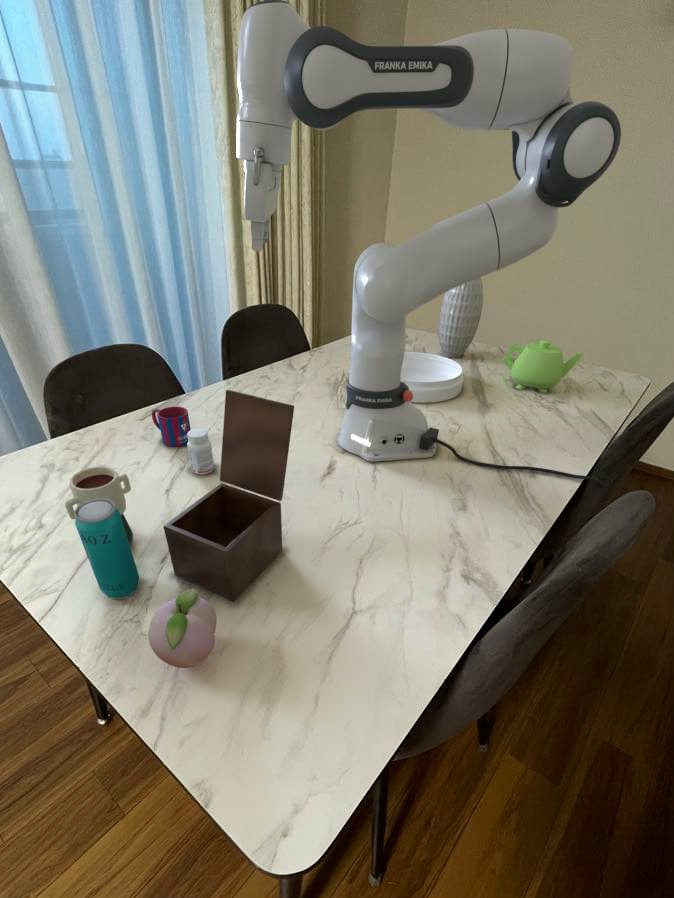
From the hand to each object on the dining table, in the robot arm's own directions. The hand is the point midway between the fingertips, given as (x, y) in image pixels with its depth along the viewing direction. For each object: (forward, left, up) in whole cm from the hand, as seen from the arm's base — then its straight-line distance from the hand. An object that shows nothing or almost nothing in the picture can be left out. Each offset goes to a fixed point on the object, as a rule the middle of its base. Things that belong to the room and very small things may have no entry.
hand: (259, 246), depth 86 cm
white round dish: (-39, -37, -39) cm, 67 cm away
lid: (-2, +36, -22) cm, 42 cm away
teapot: (-74, -38, -39) cm, 92 cm away
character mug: (+23, +39, -39) cm, 60 cm away
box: (+2, +43, -39) cm, 58 cm away
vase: (-56, -65, -39) cm, 94 cm away
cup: (+23, 0, -39) cm, 45 cm away
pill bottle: (+13, +14, -39) cm, 43 cm away
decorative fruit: (+5, +62, -39) cm, 73 cm away
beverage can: (+18, +50, -39) cm, 66 cm away
